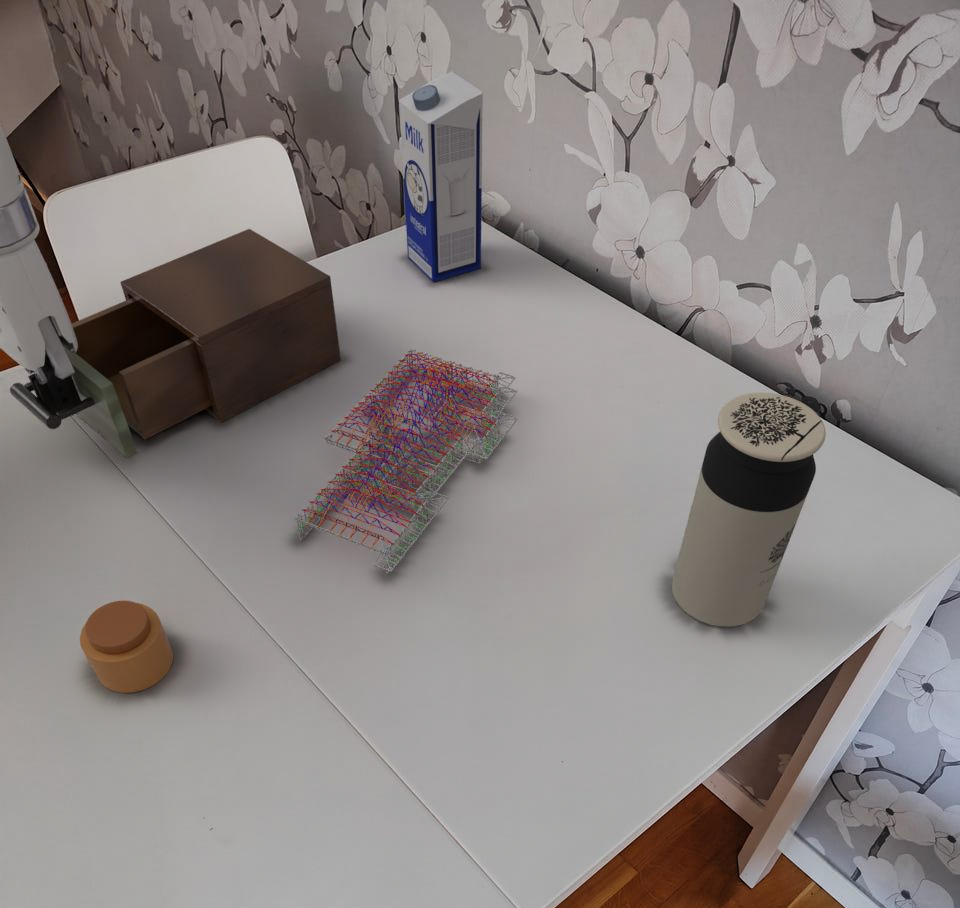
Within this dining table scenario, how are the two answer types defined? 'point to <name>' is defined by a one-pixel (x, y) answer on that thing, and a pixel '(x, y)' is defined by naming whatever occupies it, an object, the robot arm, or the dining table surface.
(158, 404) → the drawer
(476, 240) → the milk carton
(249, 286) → the cabinet
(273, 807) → the dining table surface
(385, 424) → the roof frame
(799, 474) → the travel mug
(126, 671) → the small lidded canister
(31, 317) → the robot arm
